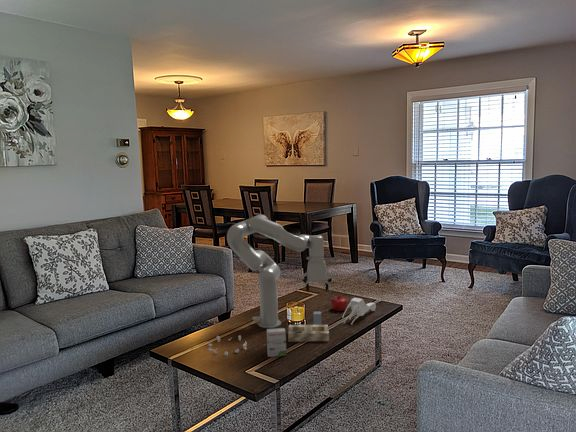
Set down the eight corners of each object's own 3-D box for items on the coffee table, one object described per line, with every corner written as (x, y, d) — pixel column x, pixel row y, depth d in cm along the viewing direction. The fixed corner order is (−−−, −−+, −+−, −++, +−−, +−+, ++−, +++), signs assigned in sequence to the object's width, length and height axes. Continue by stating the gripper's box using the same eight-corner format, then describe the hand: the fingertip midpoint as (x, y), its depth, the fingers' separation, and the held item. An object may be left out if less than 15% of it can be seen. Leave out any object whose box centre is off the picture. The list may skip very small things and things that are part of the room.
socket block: (288, 341, 226) (288, 333, 226) (289, 332, 238) (288, 324, 237) (329, 341, 225) (329, 332, 225) (327, 332, 237) (327, 324, 237)
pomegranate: (351, 309, 273) (351, 293, 272) (341, 313, 266) (340, 297, 265) (337, 305, 280) (337, 290, 279) (327, 309, 273) (327, 294, 271)
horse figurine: (356, 340, 250) (379, 309, 268) (349, 314, 243) (373, 284, 261) (347, 338, 254) (371, 307, 272) (340, 312, 247) (364, 282, 265)
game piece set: (203, 343, 227) (203, 336, 226) (242, 337, 234) (242, 330, 233) (211, 359, 209) (210, 351, 208) (253, 352, 215) (253, 344, 215)
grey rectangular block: (313, 328, 243) (313, 314, 242) (313, 326, 246) (313, 311, 246) (321, 328, 242) (321, 314, 241) (321, 325, 246) (320, 311, 245)
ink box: (285, 351, 214) (284, 327, 213) (286, 356, 209) (285, 331, 208) (267, 352, 213) (266, 328, 212) (267, 357, 208) (266, 332, 207)
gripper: (300, 261, 237) (300, 293, 239) (333, 260, 236) (334, 292, 238) (300, 257, 244) (300, 289, 246) (332, 257, 243) (333, 288, 246)
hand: (317, 290), depth 242 cm, fingers open, 9 cm apart
